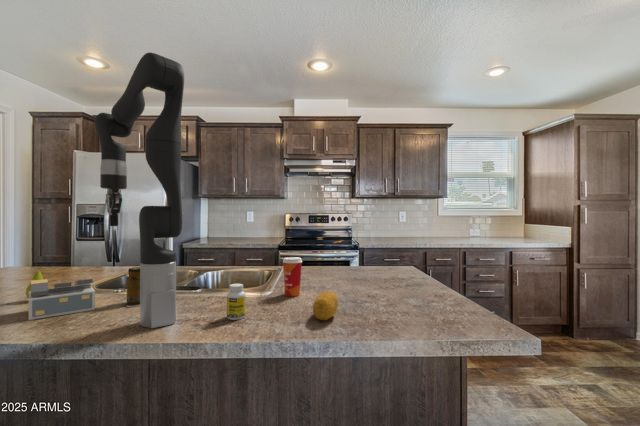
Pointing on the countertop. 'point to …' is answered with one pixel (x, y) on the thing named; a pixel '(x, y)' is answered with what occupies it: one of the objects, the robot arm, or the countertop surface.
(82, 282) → the switch right
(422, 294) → the countertop surface
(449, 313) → the countertop surface
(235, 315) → the supplement bottle
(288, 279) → the paper cup
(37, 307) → the switch unit
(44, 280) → the switch left
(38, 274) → the fruit
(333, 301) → the potato
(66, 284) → the switch middle
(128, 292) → the condiment
